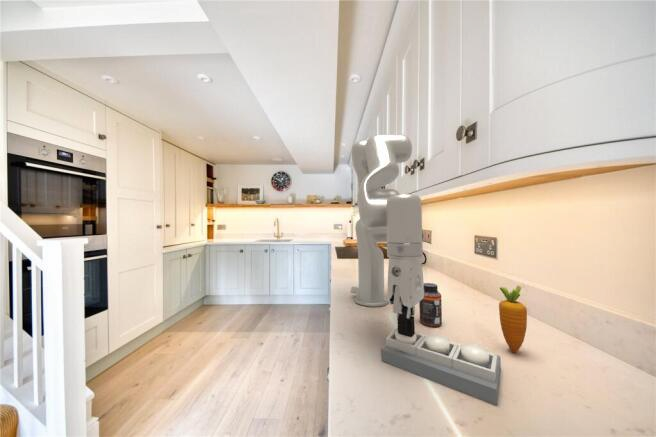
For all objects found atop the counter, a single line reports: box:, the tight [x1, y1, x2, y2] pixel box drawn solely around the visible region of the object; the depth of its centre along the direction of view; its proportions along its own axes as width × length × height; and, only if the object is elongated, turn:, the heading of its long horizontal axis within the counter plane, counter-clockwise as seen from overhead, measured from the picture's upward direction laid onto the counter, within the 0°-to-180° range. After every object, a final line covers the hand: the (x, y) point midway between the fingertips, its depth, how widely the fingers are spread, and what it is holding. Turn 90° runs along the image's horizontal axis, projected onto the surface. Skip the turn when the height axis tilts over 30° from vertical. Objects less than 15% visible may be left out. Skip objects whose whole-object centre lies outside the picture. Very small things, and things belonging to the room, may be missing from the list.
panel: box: [380, 327, 502, 406], centre depth 48 cm, size 20×12×4 cm, turn 51°
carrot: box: [498, 285, 528, 354], centre depth 53 cm, size 5×5×15 cm
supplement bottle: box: [418, 282, 443, 328], centre depth 68 cm, size 6×6×11 cm
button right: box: [460, 342, 490, 367], centre depth 44 cm, size 4×4×2 cm
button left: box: [395, 330, 417, 345], centre depth 52 cm, size 4×4×2 cm
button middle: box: [425, 333, 450, 355], centre depth 48 cm, size 4×4×2 cm
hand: (406, 334), depth 51 cm, fingers closed
